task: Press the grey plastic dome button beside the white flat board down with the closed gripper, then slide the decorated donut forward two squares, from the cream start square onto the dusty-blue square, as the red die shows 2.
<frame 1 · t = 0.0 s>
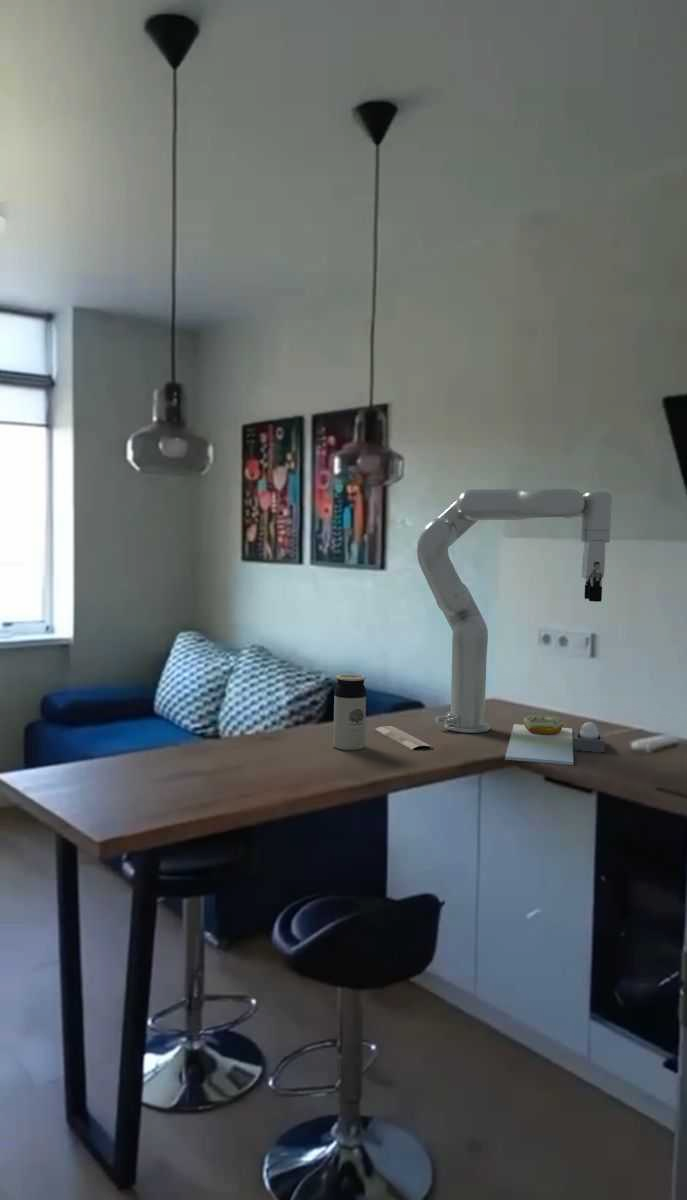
hand: (592, 600, 244), 37 cm above the table, tool pointing down, fingers open, 9 cm apart
decorated donut: (542, 731, 247), point 1 cm above the table, touching white flat board
white flat board: (540, 744, 234), on the table
dome button: (589, 730, 231), point 5 cm above the table, slide at 0.0 cm
dome collar: (588, 748, 231), on the table
travel mug: (348, 747, 226), on the table
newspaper: (401, 742, 236), on the table
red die: (587, 742, 238), on the table
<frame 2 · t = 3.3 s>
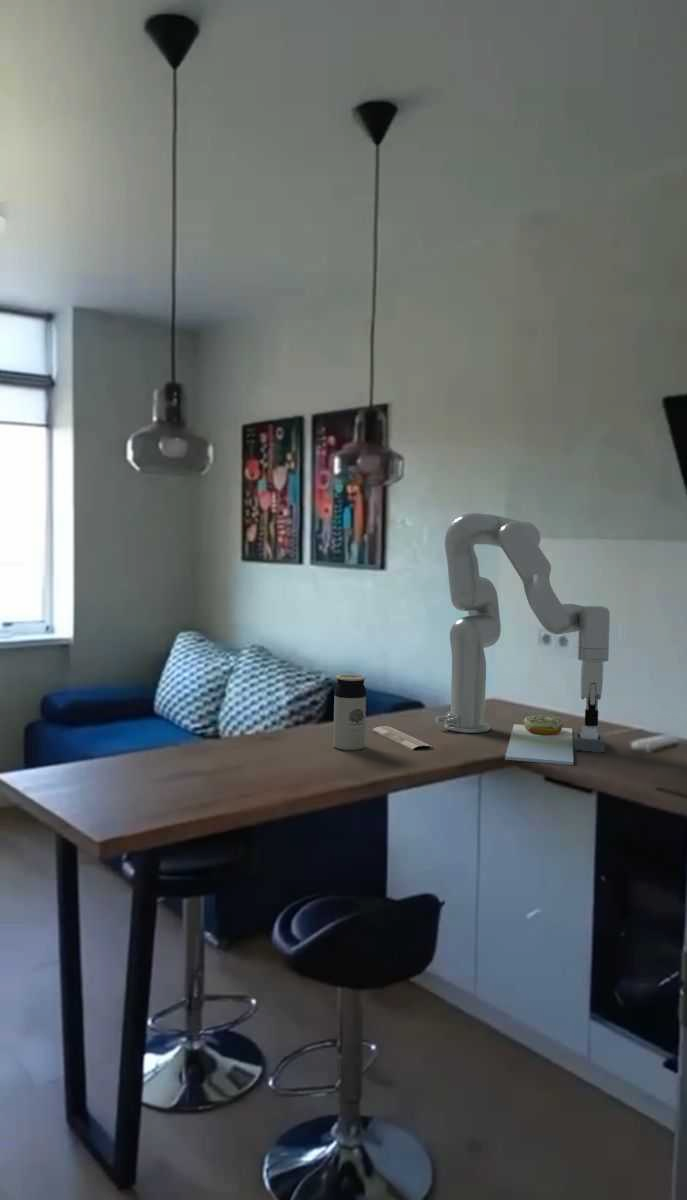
hand: (591, 725, 231), 6 cm above the table, tool pointing down, fingers closed
dome button: (589, 733, 231), point 4 cm above the table, slide at 0.8 cm, touching gripper
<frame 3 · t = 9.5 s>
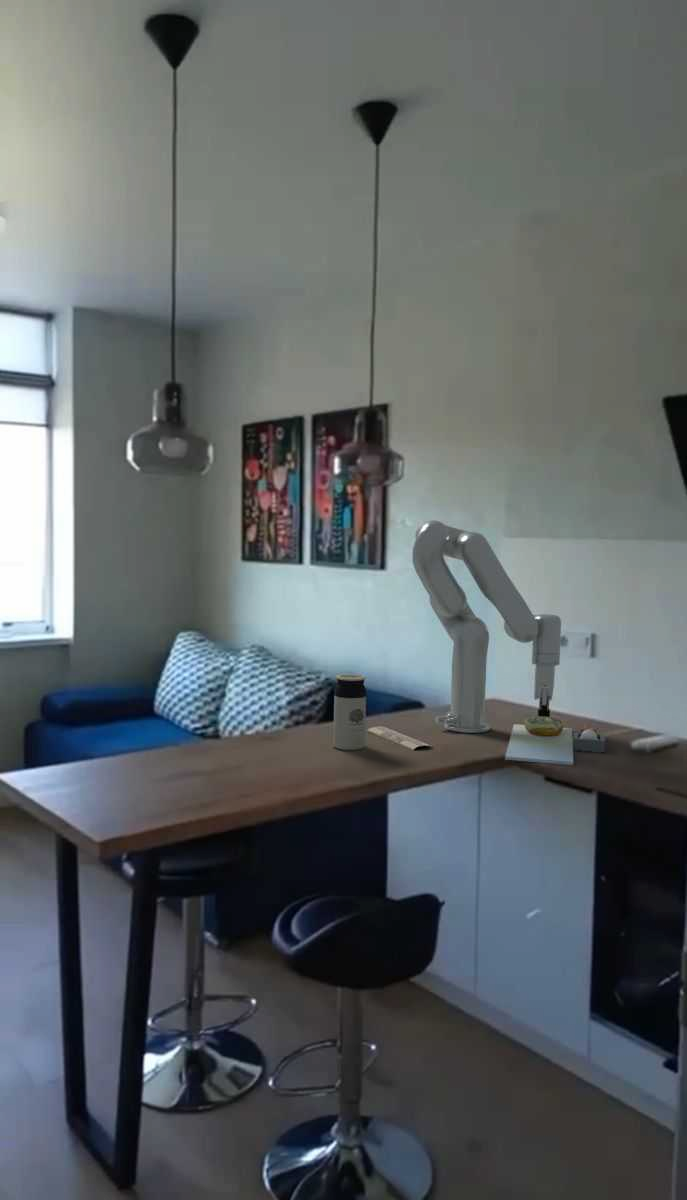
hand: (543, 723, 252), 2 cm above the table, tool pointing down, fingers closed
decorated donut: (543, 733, 245), point 1 cm above the table, touching gripper
dome button: (588, 737, 231), point 3 cm above the table, slide at 1.9 cm
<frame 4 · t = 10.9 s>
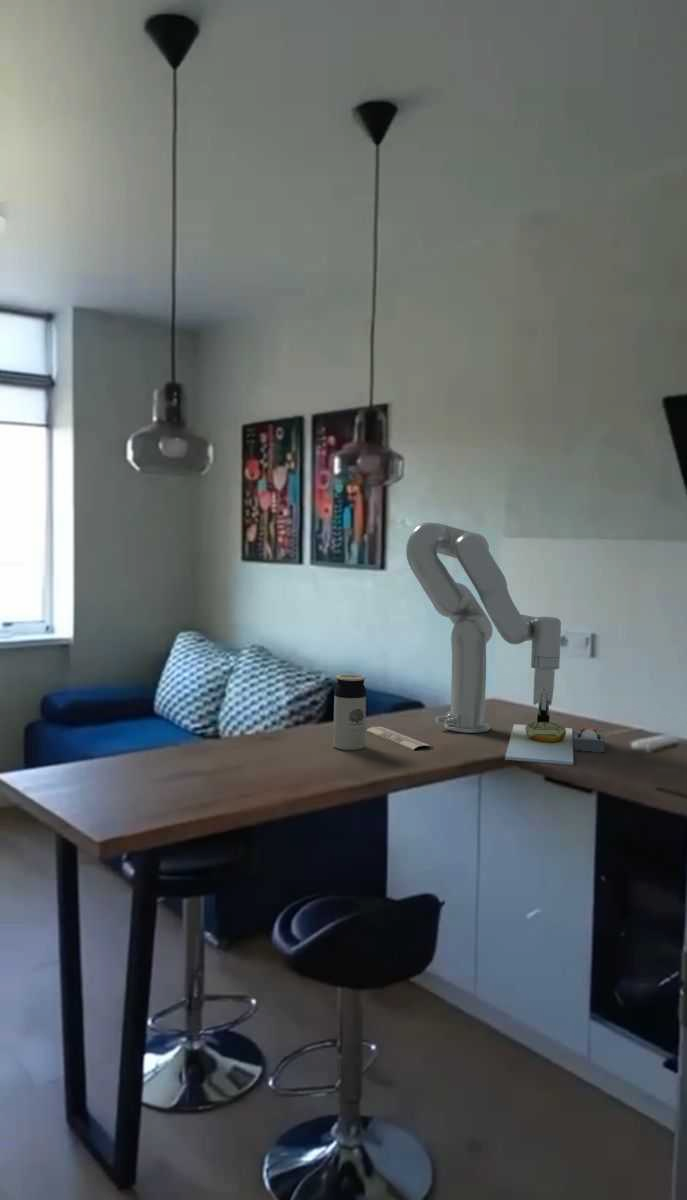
hand: (542, 729, 245), 2 cm above the table, tool pointing down, fingers closed
decorated donut: (545, 739, 237), point 1 cm above the table, touching white flat board, gripper
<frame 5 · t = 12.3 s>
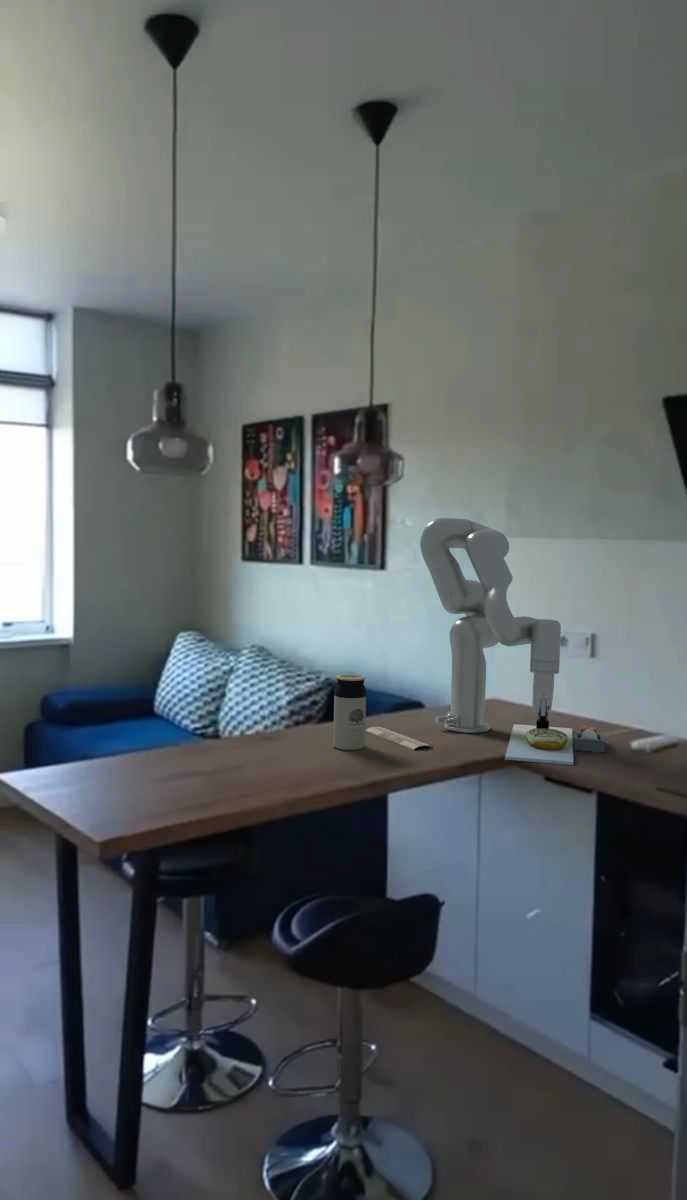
hand: (542, 735, 236), 2 cm above the table, tool pointing down, fingers closed
decorated donut: (546, 746, 229), point 1 cm above the table, touching white flat board
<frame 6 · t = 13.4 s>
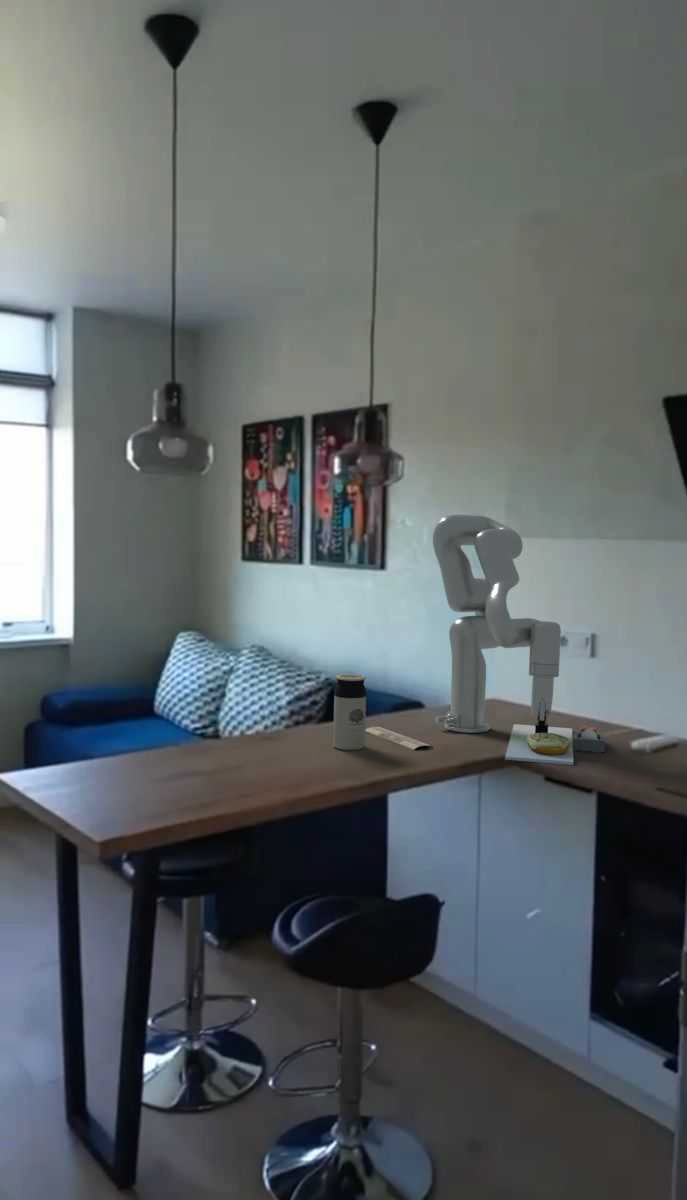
hand: (541, 740, 231), 2 cm above the table, tool pointing down, fingers closed
decorated donut: (548, 751, 224), point 1 cm above the table
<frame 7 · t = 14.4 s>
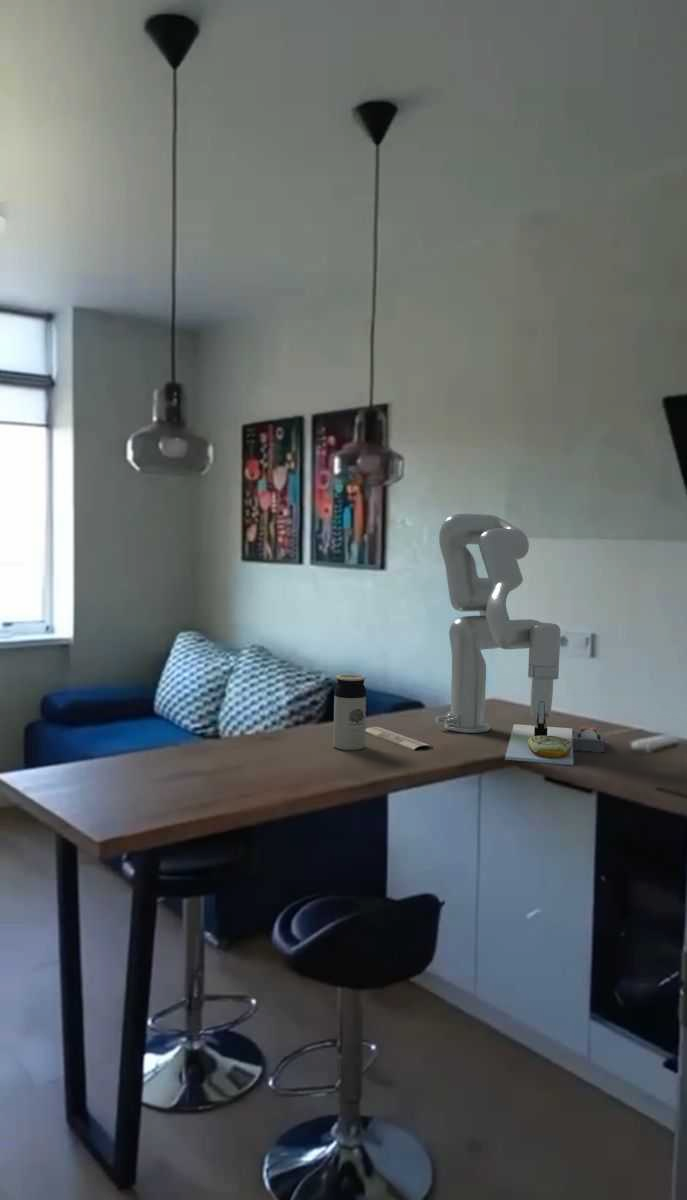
hand: (540, 743, 228), 2 cm above the table, tool pointing down, fingers closed
decorated donut: (549, 754, 221), point 1 cm above the table, touching white flat board, gripper
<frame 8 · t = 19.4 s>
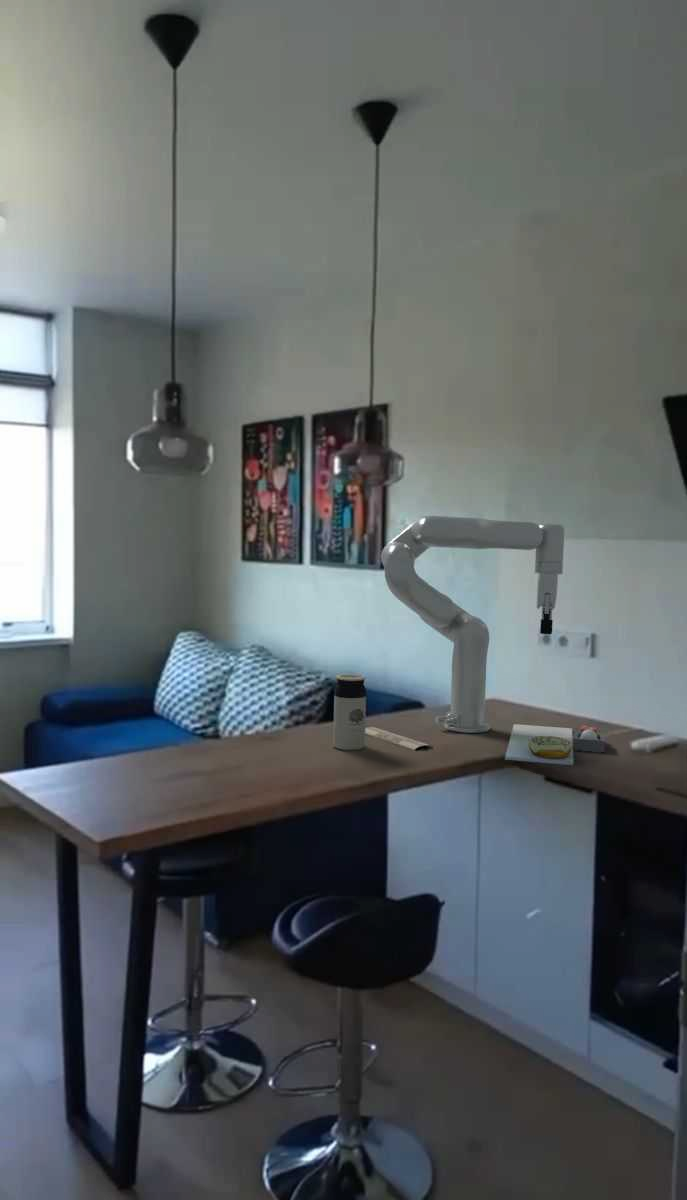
hand: (546, 633, 251), 27 cm above the table, tool pointing down, fingers closed
decorated donut: (549, 755, 220), point 1 cm above the table, touching white flat board
at the end: dome button slide at 1.9 cm; decorated donut inside the target area (2.5 cm from its centre), point 0.6 cm above the table; decorated donut moved 26.8 cm from its start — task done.
